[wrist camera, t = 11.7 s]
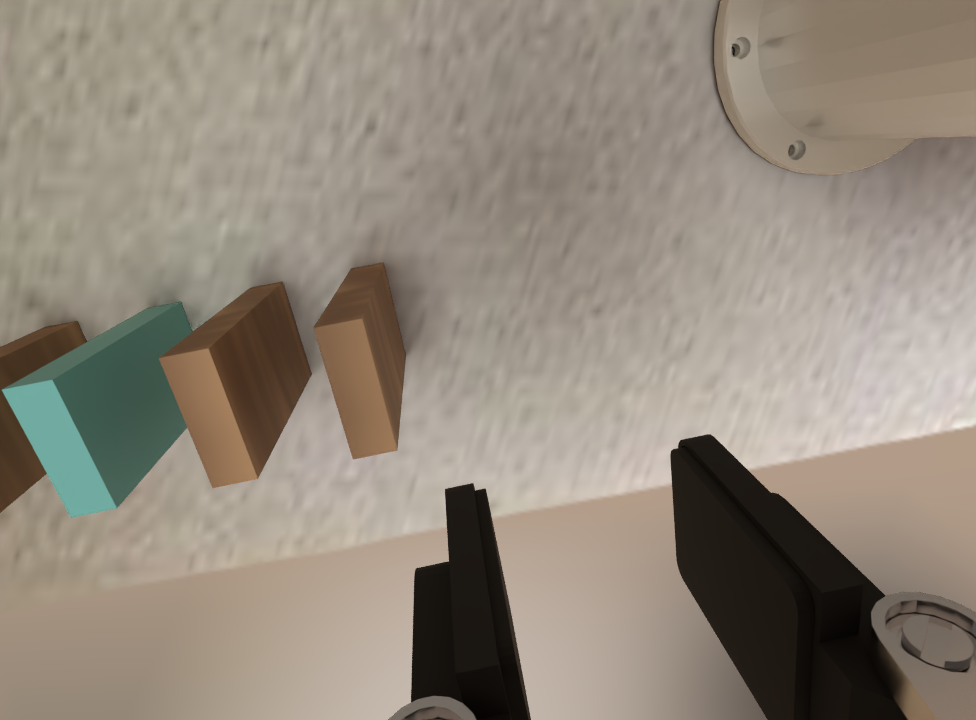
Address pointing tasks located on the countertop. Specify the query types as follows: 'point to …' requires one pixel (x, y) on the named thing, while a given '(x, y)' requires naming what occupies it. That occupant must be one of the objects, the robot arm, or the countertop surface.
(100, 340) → the domino
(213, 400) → the domino
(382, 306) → the domino
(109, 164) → the countertop surface
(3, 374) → the domino
